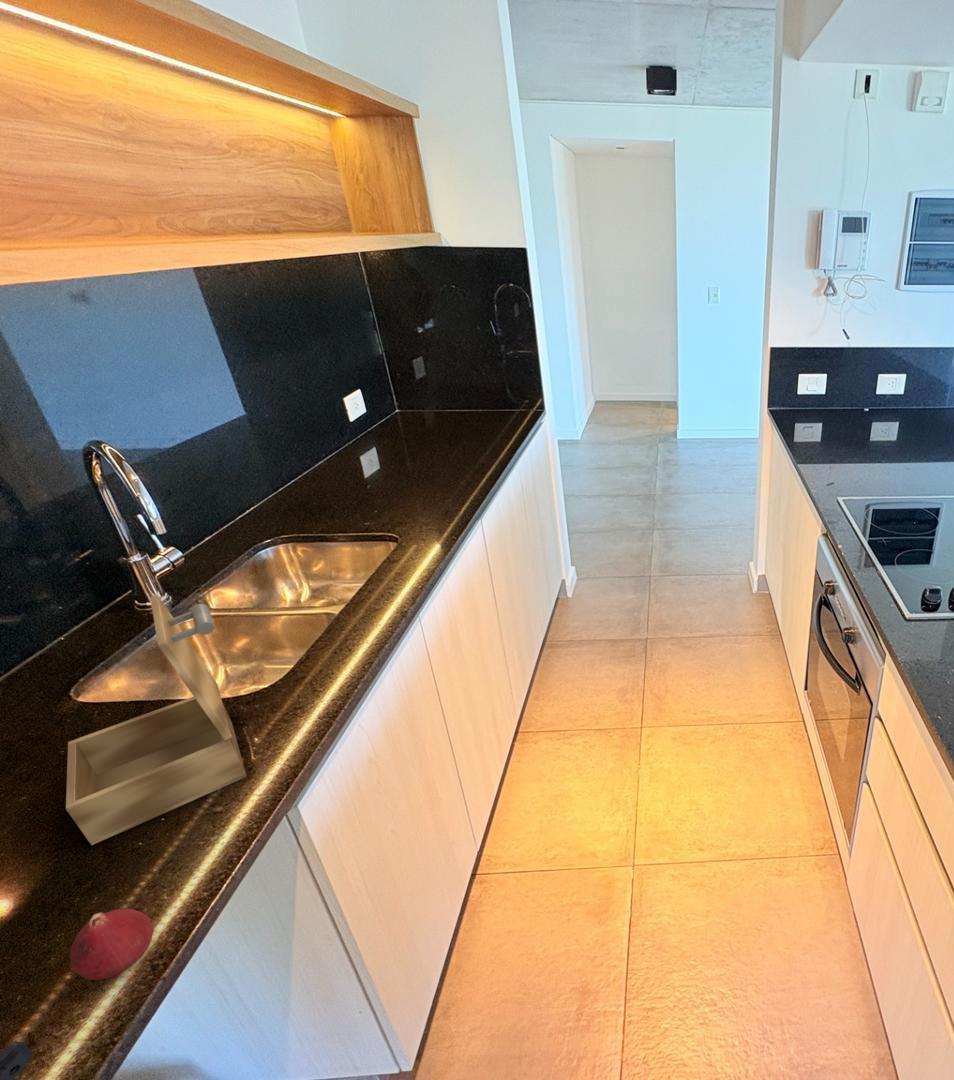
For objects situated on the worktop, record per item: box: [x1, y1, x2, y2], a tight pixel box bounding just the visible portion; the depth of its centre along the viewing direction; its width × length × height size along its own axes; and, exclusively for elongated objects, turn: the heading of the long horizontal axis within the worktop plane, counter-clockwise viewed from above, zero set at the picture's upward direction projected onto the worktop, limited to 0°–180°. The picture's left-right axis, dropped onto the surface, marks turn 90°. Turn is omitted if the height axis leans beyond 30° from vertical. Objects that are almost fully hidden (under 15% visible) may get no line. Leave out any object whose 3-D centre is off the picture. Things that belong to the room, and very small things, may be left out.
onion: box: [69, 908, 155, 981], centre depth 61 cm, size 6×6×8 cm
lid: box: [149, 593, 232, 740], centre depth 81 cm, size 16×14×5 cm
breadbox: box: [65, 696, 247, 846], centre depth 82 cm, size 16×14×7 cm
